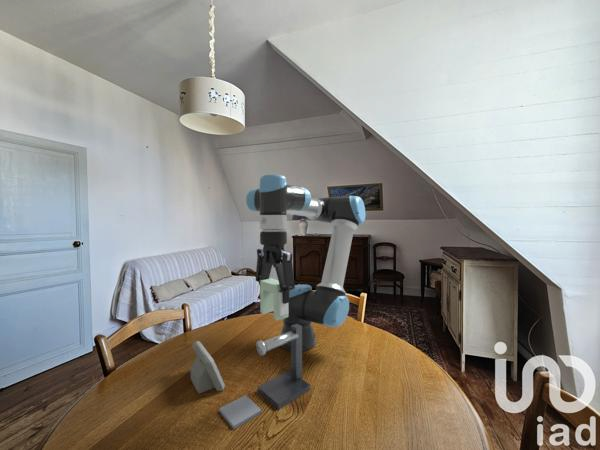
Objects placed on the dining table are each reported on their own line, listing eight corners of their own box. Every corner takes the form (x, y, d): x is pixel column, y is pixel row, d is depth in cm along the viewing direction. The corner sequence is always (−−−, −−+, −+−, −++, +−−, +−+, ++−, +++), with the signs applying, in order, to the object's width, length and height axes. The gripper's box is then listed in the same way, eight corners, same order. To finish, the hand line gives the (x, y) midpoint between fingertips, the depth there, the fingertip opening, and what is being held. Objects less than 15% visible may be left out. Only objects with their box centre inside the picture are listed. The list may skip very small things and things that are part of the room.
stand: (250, 394, 76) (250, 333, 76) (289, 374, 86) (289, 320, 86) (271, 413, 69) (270, 345, 68) (310, 389, 79) (310, 329, 78)
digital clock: (225, 393, 77) (225, 357, 77) (192, 402, 74) (191, 364, 73) (217, 365, 92) (217, 335, 92) (190, 371, 88) (189, 340, 88)
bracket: (260, 312, 77) (260, 280, 77) (271, 309, 80) (271, 278, 79) (277, 320, 71) (276, 285, 71) (288, 316, 74) (288, 283, 73)
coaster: (219, 411, 70) (219, 408, 70) (245, 397, 75) (245, 394, 75) (233, 429, 64) (233, 426, 64) (261, 413, 69) (261, 410, 69)
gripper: (242, 229, 80) (243, 304, 80) (286, 232, 64) (287, 324, 65) (263, 228, 85) (264, 299, 85) (308, 231, 69) (309, 316, 70)
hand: (274, 310), depth 75 cm, fingers closed on bracket, 8 cm apart
